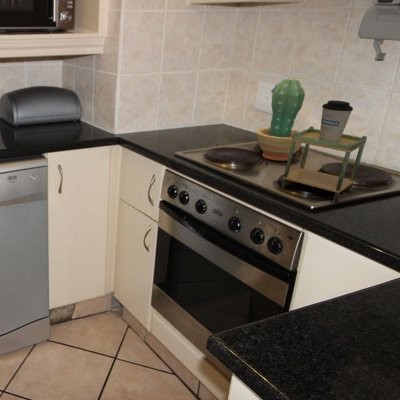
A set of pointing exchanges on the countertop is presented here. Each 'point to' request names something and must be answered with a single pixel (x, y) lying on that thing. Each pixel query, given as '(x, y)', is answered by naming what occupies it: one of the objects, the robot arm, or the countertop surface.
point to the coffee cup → (334, 120)
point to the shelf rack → (318, 178)
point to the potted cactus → (282, 120)
